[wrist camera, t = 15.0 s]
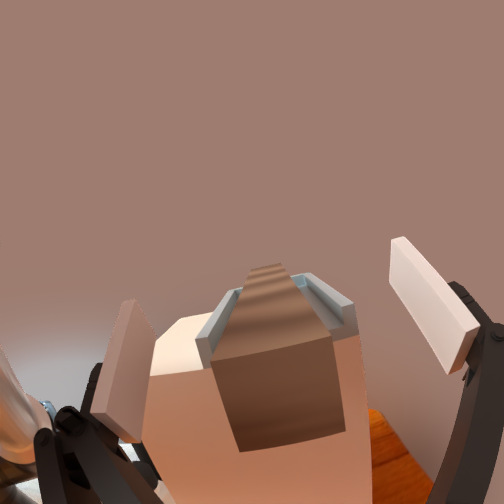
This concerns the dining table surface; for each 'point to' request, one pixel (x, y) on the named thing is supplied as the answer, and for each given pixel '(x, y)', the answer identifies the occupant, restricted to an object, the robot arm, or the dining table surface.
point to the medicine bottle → (154, 482)
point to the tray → (316, 293)
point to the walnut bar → (277, 366)
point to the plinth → (224, 445)
